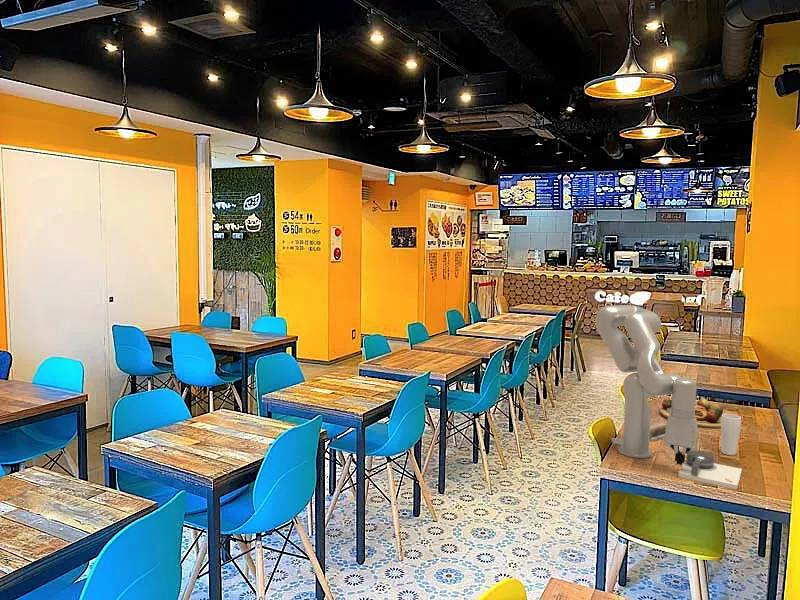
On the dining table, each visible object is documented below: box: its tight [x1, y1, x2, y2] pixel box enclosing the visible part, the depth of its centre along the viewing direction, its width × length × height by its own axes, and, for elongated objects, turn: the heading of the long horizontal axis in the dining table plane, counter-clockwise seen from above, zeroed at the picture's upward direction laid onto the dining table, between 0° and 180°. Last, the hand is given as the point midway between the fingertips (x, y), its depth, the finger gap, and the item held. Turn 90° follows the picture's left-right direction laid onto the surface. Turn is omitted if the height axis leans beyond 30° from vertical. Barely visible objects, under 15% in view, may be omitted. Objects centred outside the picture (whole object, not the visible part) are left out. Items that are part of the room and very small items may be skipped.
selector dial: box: [685, 450, 715, 475], centre depth 215 cm, size 18×9×3 cm, turn 146°
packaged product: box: [649, 421, 667, 443], centre depth 256 cm, size 18×5×10 cm
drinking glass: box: [720, 413, 742, 456], centre depth 235 cm, size 7×7×15 cm
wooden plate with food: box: [659, 397, 727, 430], centre depth 282 cm, size 32×32×8 cm
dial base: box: [677, 459, 743, 490], centre depth 213 cm, size 18×18×2 cm
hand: (679, 463), depth 215 cm, fingers closed
